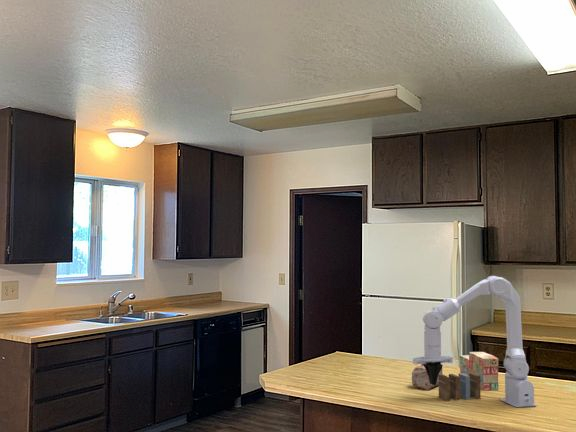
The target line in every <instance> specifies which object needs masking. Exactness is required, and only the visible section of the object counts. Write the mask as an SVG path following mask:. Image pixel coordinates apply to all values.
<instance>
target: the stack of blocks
mask: <svg viewBox="0 0 576 432" xmlns="http://www.w3.org/2000/svg"><path fill="white" fill-rule="evenodd" d="M459 373H463V374H466V375H468V376H469V373H474V374H477V375H479V376H480V391H483V392H485V391H486V392H487V391H488V392H490V391H499V358H498V357H496V356H495V355H492V354H489V353H487V352H484V351H469V352H468V354H466V355H462V354H461V355H459Z"/></svg>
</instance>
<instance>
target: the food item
mask: <svg viewBox="0 0 576 432" xmlns="http://www.w3.org/2000/svg"><path fill="white" fill-rule="evenodd" d="M440 374H443V368H442V369H441V371H440V373H439V375H440ZM439 375H438V378H437V382H436V385H432V384H430V381H429V377H428V374H427V371H426V369H425V367H424V365H423V364H420V366H416V367H414V369H413V370H412V371H411V383H412V386H414V387H415V388H418V389H419V390H425V391H430V390H431V389H433V388H435V387H437V386H438V387H439Z"/></svg>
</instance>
